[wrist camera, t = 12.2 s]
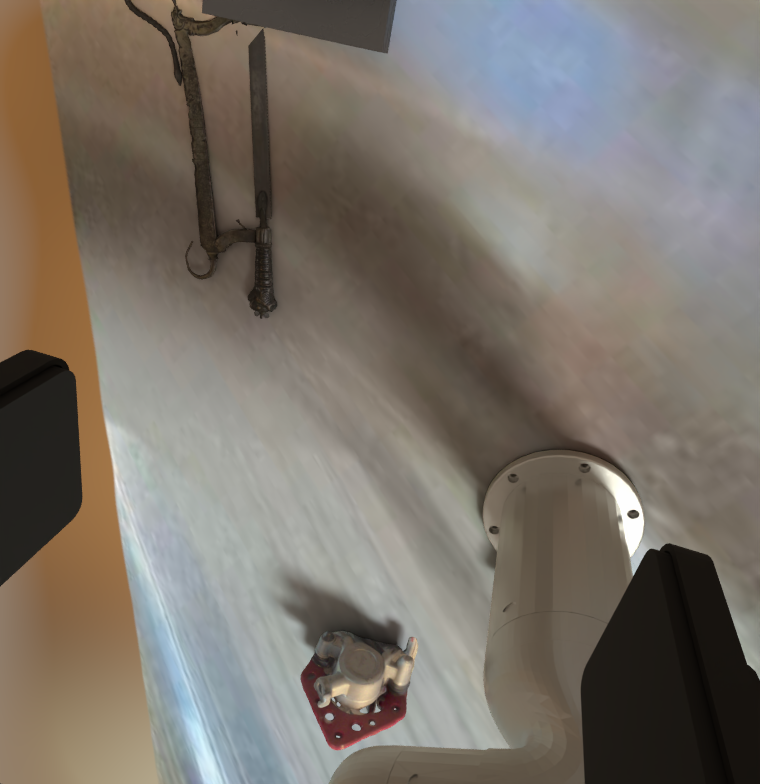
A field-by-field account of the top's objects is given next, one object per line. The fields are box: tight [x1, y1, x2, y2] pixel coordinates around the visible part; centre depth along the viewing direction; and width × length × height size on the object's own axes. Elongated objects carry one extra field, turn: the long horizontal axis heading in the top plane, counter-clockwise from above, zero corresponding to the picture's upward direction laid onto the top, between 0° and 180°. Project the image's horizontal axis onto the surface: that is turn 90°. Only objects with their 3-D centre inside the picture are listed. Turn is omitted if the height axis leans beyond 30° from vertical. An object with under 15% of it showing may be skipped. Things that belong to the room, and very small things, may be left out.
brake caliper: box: [301, 631, 418, 750], centre depth 61 cm, size 11×10×11 cm
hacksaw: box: [125, 0, 277, 319], centre depth 45 cm, size 24×10×2 cm, turn 178°
